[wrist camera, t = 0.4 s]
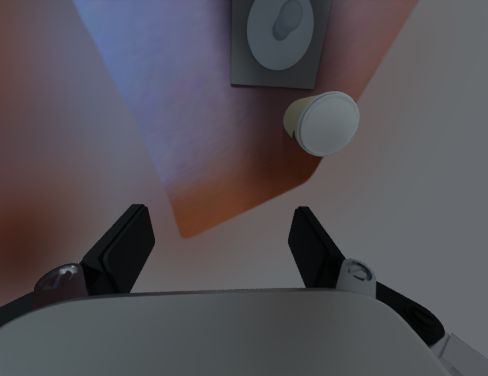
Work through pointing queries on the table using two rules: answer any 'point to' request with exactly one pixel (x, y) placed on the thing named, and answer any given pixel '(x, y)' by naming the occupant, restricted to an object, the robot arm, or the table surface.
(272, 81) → the mat
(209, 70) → the table surface
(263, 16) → the lid
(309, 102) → the coffee cup
